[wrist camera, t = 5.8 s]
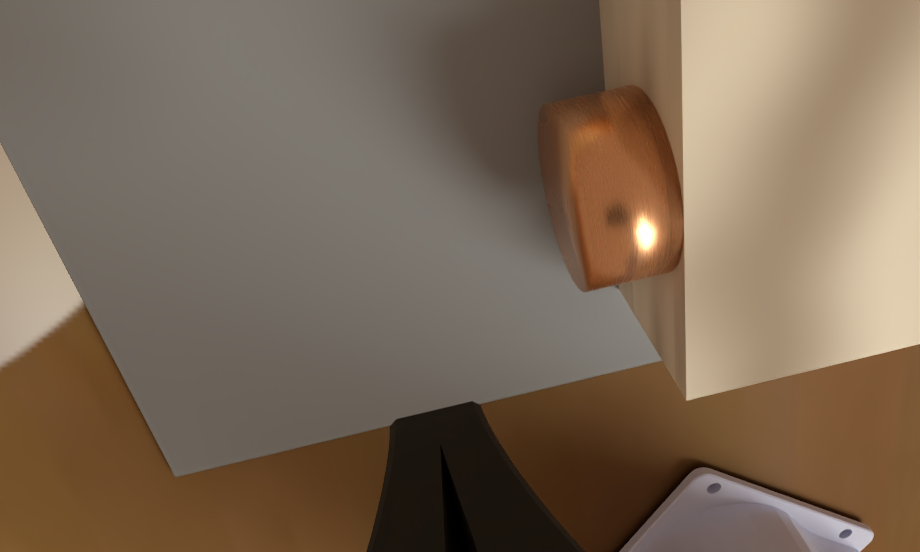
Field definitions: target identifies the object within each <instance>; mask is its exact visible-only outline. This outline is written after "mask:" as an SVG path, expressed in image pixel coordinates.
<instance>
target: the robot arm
mask: <svg viewBox="0 0 920 552" xmlns="http://www.w3.org/2000/svg"><path fill="white" fill-rule="evenodd" d="M873 536H874V534H873V531H872V530H871V529H870V527H869V526H868V525H866V524H863V523H861V522H858V521H855V520H852V519H849V518H847V517H844V516H841V515H838V514H836V513H833V512H830V511H827V510H824V509H822V508H819V507H816V506H813V505H810V504H808V503H805V502H802V501H799V500H796V499H794V498H791V497H788V496H785V495H783V494H780V493H777V492H774V491H771V490H769V489H766V488H763V487H760V486H757V485H755V484H752V483H749V482H746V481H743V480H741V479H738V478H735V477H732V476H729V475H727V474H724V473H721V472H718V471H716V470H713V469H710V468H705V467H701V468H697V469H695V470H693V471H692V472H691V473H689V475H688V476H687V477H686V478H685V479H684V480H683V481H682V482H681V483H680V485H679V486H678V487H677V488H676V489H675V490H674V491H673V492H672V493H671V495H670V496H669V497H668V498H667V499H666V500H665V501H664V502H663V503H662V505H661V506H660V507H659V508H658V509H657V510H656V511H655V512H654V513H653V515H652V516H651V517H650V518H649V519H648V520H647V521H646V522H645V523H644V525H643V526H642V527H641V528H640V529H639V530H638V531H637V532H636V533H635V535H634V536H633V537H632V538H631V539H630V540H629V541H628V542H627V543H626V545H625V546H624V547H623V548H622V549H621V550H620V551H619V552H860V551H861V550H862V549H863V548H864V547H865V546H867V545H868V544H869V543H870V542H871V540H872V539H873ZM367 552H585V551H584V550H583V549H582V548H581V547H580V546H579V545H578V544H577V542H576V541H575V540H574V539H573V538H572V537H571V536H570V535H569V534H568V532H567V531H566V530H565V529H564V528H563V527H562V525H561V524H560V523H559V522H558V521H557V520H556V519H555V517H554V516H553V515H552V514H551V513H550V511H549V510H548V509H547V508H546V507H545V505H544V504H543V503H542V502H541V500H540V499H539V498H538V496H537V495H536V494H535V493H534V491H533V490H532V489H531V487H530V486H529V485H528V483H527V482H526V481H525V479H524V478H523V477H522V475H521V474H520V473H519V471H518V470H517V468H516V467H515V466H514V464H513V463H512V461H511V460H510V458H509V457H508V455H507V454H506V452H505V451H504V449H503V448H502V446H501V444H500V443H499V441H498V440H497V438H496V436H495V435H494V433H493V431H492V429H491V427H490V426H489V424H488V422H487V420H486V417H485V415H484V413H483V411H482V408H481V406H480V405H479V404H477V403H475V402H473V401H471V402H466V403H462V404H458V405H454V406H449V407H445V408H441V409H437V410H433V411H428V412H424V413H420V414H416V415H412V416H407V417H403V418H399V419H396V420H395V421H394V422H393V423H392V425H391V426H390V442H389V452H388V460H387V466H386V472H385V478H384V483H383V488H382V493H381V498H380V502H379V506H378V510H377V514H376V519H375V523H374V527H373V531H372V535H371V538H370V542H369V545H368V549H367Z"/></svg>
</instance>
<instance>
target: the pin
mask: <svg viewBox="0 0 920 552" xmlns="http://www.w3.org/2000/svg"><path fill="white" fill-rule="evenodd" d="M537 133H538V150H539V160H540V167H541V174H542V180H543V186H544V191H545V196H546V201H547V205H548V210H549V214H550V218H551V222H552V226H553V229H554V233H555V236H556V239H557V243H558V246H559V249H560V252H561V254H562V257H563V260H564V262H565V265H566V267H567V270H568V272H569V274H570V276H571V278H572V280H573V281H574V283H575V285H576V286H577V287H578V288H579V289H580V291H582V292H589V291H594V290H598V289H602V288H606V287H611V286H615V285H619V284H623V283H628V282H632V281H636V280H640V279H645V278H649V277H653V276H657V275H662V274H666V273H670V272H672V271H674V270H675V268H676V267H677V265H678V263H679V261H680V258H681V254H682V249H683V240H684V213H683V202H682V194H681V187H680V182H679V177H678V171H677V167H676V163H675V159H674V155H673V152H672V148H671V145H670V142H669V139H668V136H667V133H666V130H665V128H664V125H663V123H662V120H661V118H660V116H659V114H658V112H657V110H656V108H655V106H654V105H653V103H652V101H651V100H650V98H649V97H648V96H647V94H646V93H645V92H644V91H643V90H642V89H640V88H639V87H638V86H635V85H627V86H623V87H618V88H614V89H609V90H605V91H600V92H596V93H591V94H587V95H582V96H578V97H573V98H569V99H564V100H560V101H555V102H551V103H546V104H543V105H542V106H541V108H540V111H539V116H538V131H537Z"/></svg>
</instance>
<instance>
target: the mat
mask: <svg viewBox="0 0 920 552" xmlns="http://www.w3.org/2000/svg"><path fill="white" fill-rule="evenodd" d="M600 91H605V79H604V65H603V50H602V36H601V21H600V7H599V0H0V143H1V145H2V147H3V149H4V150H5V152H6V154H7V156H8V158H9V160H10V162H11V164H12V165H13V168H14V170H15V171H16V173H17V175H18V177H19V179H20V181H21V183H22V185H23V187H24V189H25V191H26V193H27V194H28V196H29V198H30V200H31V202H32V204H33V206H34V208H35V210H36V211H37V214H38V216H39V217H40V219H41V221H42V223H43V225H44V227H45V229H46V231H47V233H48V235H49V236H50V238H51V240H52V242H53V244H54V246H55V248H56V250H57V252H58V254H59V256H60V258H61V259H62V261H63V263H64V265H65V267H66V269H67V271H68V273H69V275H70V277H71V279H72V281H73V282H74V284H75V286H76V288H77V290H78V292H79V294H80V296H81V298H82V300H83V302H84V303H85V305H86V307H87V309H88V311H89V313H90V315H91V317H92V319H93V321H94V323H95V325H96V326H97V328H98V330H99V332H100V334H101V336H102V338H103V340H104V342H105V344H106V346H107V347H108V349H109V351H110V353H111V355H112V357H113V359H114V361H115V363H116V365H117V367H118V369H119V370H120V372H121V374H122V376H123V378H124V380H125V382H126V384H127V386H128V388H129V390H130V391H131V393H132V395H133V397H134V399H135V401H136V403H137V405H138V407H139V409H140V411H141V412H142V414H143V416H144V418H145V420H146V422H147V424H148V426H149V428H150V430H151V432H152V434H153V435H154V437H155V439H156V441H157V443H158V445H159V447H160V449H161V451H162V453H163V455H164V456H165V458H166V460H167V462H168V464H169V466H170V468H171V470H172V472H173V474H174V476H175V477H178V476H183V475H187V474H191V473H195V472H199V471H203V470H208V469H212V468H216V467H220V466H224V465H228V464H233V463H237V462H241V461H245V460H249V459H253V458H258V457H262V456H266V455H270V454H274V453H278V452H283V451H287V450H291V449H295V448H299V447H303V446H308V445H312V444H316V443H320V442H324V441H328V440H333V439H337V438H341V437H345V436H349V435H353V434H358V433H362V432H366V431H370V430H374V429H378V428H383V427H387V426H391V425H392V423H393V422H394V421H395V420H396V419H399V418H403V417H407V416H412V415H416V414H420V413H424V412H428V411H433V410H437V409H441V408H445V407H449V406H454V405H458V404H462V403H466V402H471V401H473V402H475V403H477V404H483V403H487V402H491V401H495V400H499V399H503V398H508V397H512V396H516V395H520V394H524V393H528V392H533V391H537V390H541V389H545V388H549V387H553V386H558V385H562V384H566V383H570V382H574V381H578V380H583V379H587V378H591V377H595V376H599V375H603V374H608V373H612V372H616V371H620V370H624V369H628V368H633V367H637V366H641V365H645V364H649V363H653V362H658V361H662V359H661V358H660V356H659V354H658V353H657V351H656V350H655V348H654V346H653V345H652V343H651V341H650V340H649V338H648V336H647V335H646V333H645V331H644V330H643V328H642V326H641V325H640V323H639V322H638V320H637V318H636V317H635V315H634V313H633V312H632V310H631V308H630V307H629V305H628V303H627V302H626V300H625V298H624V297H623V295H622V294H621V292H620V290H619V285H615V286H611V287H606V288H602V289H598V290H594V291H589V292H582V291H580V289H579V288H578V287H577V286H576V285H575V283H574V281H573V280H572V278H571V276H570V274H569V272H568V270H567V267H566V265H565V262H564V260H563V257H562V254H561V252H560V249H559V246H558V243H557V239H556V236H555V233H554V229H553V226H552V222H551V218H550V214H549V210H548V205H547V201H546V196H545V191H544V186H543V180H542V174H541V167H540V160H539V150H538V133H537V131H538V116H539V111H540V108H541V106H542V105H543V104H546V103H551V102H555V101H560V100H564V99H569V98H573V97H578V96H582V95H587V94H591V93H596V92H600Z"/></svg>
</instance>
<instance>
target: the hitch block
mask: <svg viewBox="0 0 920 552" xmlns="http://www.w3.org/2000/svg"><path fill="white" fill-rule="evenodd" d="M599 7H600V21H601V36H602V50H603V65H604V79H605V90H609V89H614V88H618V87H623V86H627V85H635V86H638V87H639V88H640V89H642V90H643V91H644V92H645V93H646V94H647V96H648V97H649V98H650V100H651V101H652V103H653V105H654V106H655V108H656V110H657V112H658V114H659V116H660V118H661V120H662V123H663V125H664V128H665V130H666V133H667V136H668V139H669V142H670V145H671V148H672V152H673V155H674V159H675V163H676V167H677V171H678V177H679V182H680V187H681V194H682V202H683V213H684V240H683V249H682V254H681V258H680V261H679V263H678V265H677V267H676V268H675V270H674V271H672V272H670V273H666V274H662V275H657V276H653V277H649V278H645V279H640V280H636V281H632V282H628V283H623V284H619V290H620V292H621V294H622V295H623V297H624V298H625V300H626V302H627V303H628V305H629V307H630V308H631V310H632V312H633V313H634V315H635V317H636V318H637V320H638V322H639V323H640V325H641V326H642V328H643V330H644V331H645V333H646V335H647V336H648V338H649V340H650V341H651V343H652V345H653V346H654V348H655V350H656V351H657V353H658V354H659V356H660V358H661V359H662V361H663V363H664V364H665V366H666V368H667V369H668V371H669V373H670V374H671V376H672V378H673V379H674V381H675V383H676V384H677V386H678V387H679V389H680V391H681V392H682V394H683V396H684V397H685V399H686V401H687V400H691V399H695V398H699V397H703V396H707V395H712V394H716V393H720V392H724V391H728V390H732V389H736V388H740V387H744V386H749V385H753V384H757V383H761V382H765V381H769V380H773V379H777V378H782V377H786V376H790V375H794V374H798V373H802V372H806V371H810V370H815V369H819V368H823V367H827V366H831V365H835V364H839V363H843V362H847V361H852V360H856V359H860V358H864V357H868V356H872V355H876V354H880V353H885V352H889V351H893V350H897V349H901V348H905V347H909V346H913V345H917V344H920V0H599Z"/></svg>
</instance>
